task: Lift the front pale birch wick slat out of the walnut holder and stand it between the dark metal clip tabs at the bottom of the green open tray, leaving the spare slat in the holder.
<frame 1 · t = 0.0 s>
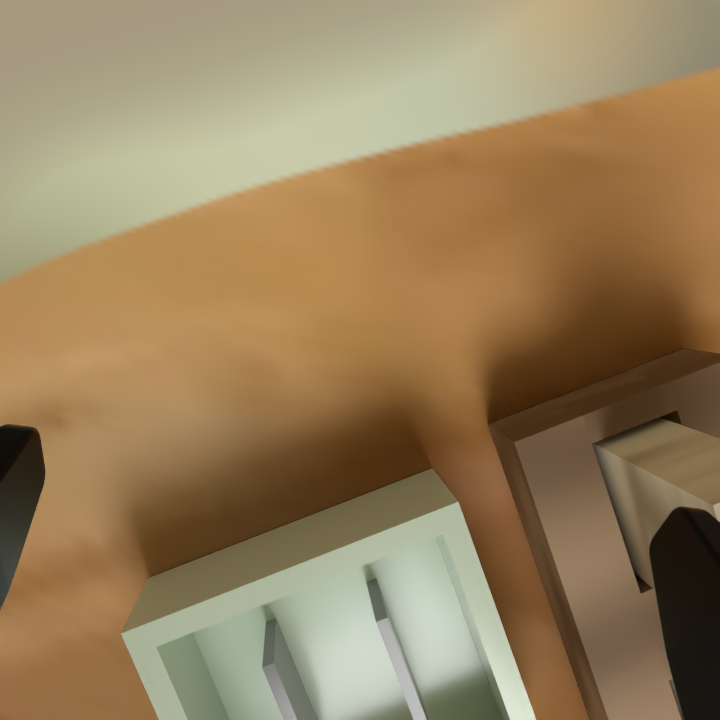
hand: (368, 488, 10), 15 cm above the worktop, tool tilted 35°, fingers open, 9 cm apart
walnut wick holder: (650, 583, 26), on the worktop
green open tray: (344, 654, 26), on the worktop
birch wick slat: (616, 478, 26), resting in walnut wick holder
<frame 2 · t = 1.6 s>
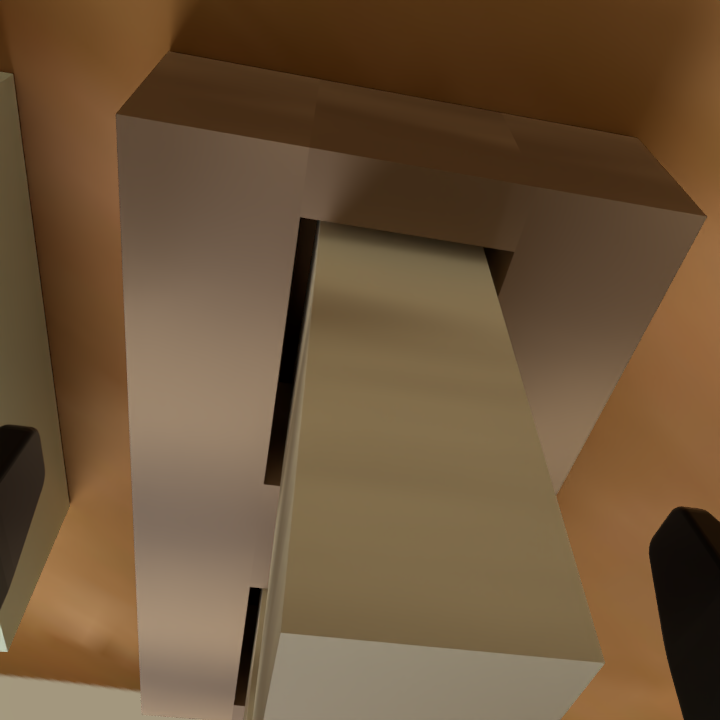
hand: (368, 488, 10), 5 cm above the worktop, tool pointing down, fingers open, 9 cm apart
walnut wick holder: (335, 443, 16), on the worktop
birch wick slat: (369, 286, 14), resting in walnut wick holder
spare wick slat: (310, 554, 19), resting in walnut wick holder
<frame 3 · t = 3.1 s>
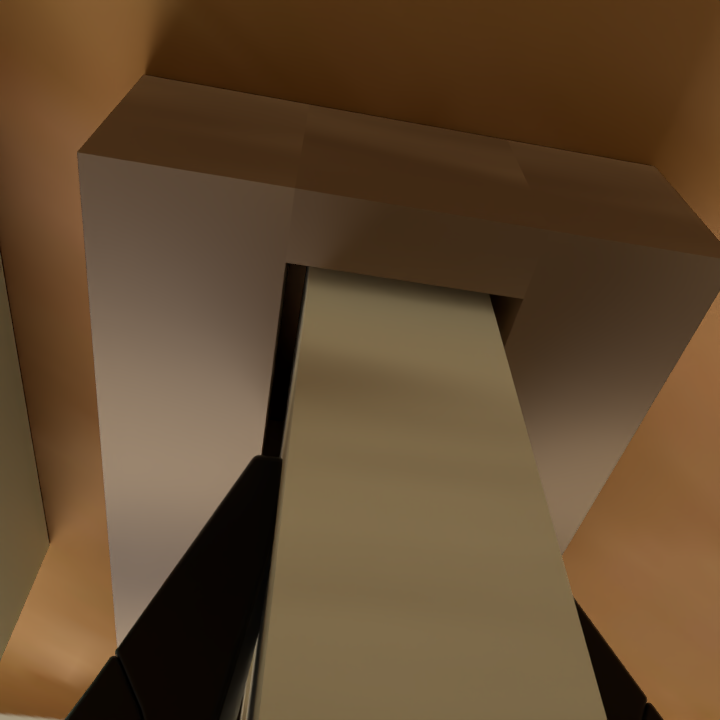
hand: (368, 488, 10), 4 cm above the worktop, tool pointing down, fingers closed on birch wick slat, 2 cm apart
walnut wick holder: (329, 482, 15), on the worktop
birch wick slat: (365, 322, 13), resting in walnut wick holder, touching gripper
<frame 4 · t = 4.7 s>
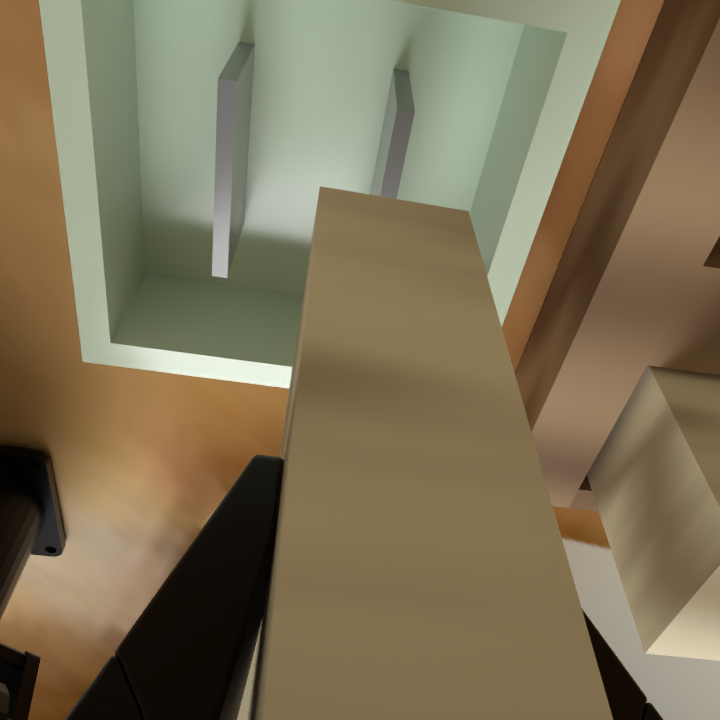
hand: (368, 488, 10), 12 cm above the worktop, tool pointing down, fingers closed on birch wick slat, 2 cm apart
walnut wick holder: (687, 269, 21), on the worktop
green open tray: (314, 146, 19), on the worktop
birch wick slat: (367, 321, 13), point 8 cm above the worktop, touching gripper
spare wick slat: (628, 376, 24), resting in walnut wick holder
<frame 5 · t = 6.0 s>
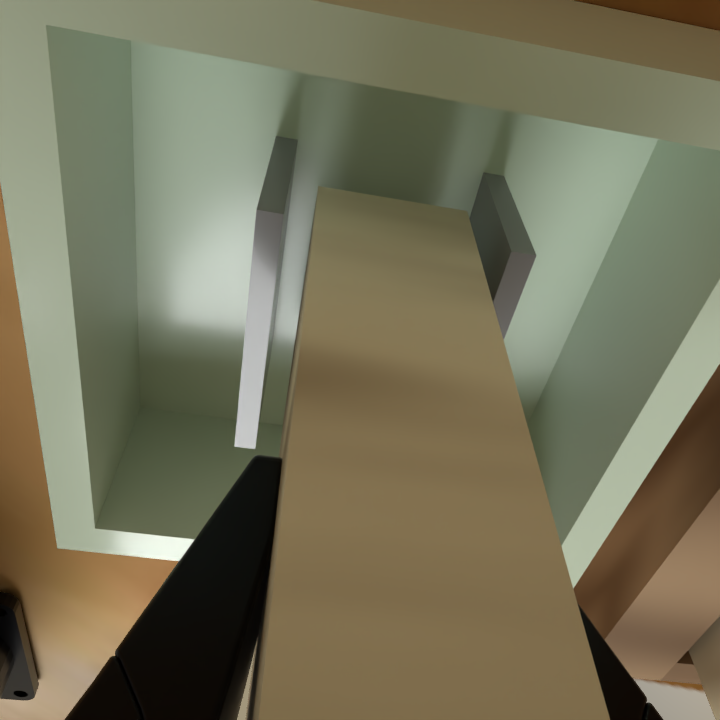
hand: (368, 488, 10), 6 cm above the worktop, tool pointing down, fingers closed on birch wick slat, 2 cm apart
green open tray: (367, 261, 14), on the worktop
birch wick slat: (365, 321, 13), point 2 cm above the worktop, touching gripper
when the fingers open (6 cm above the worktop, at t = 6.7 s): birch wick slat drops 1 cm, resting on green open tray.
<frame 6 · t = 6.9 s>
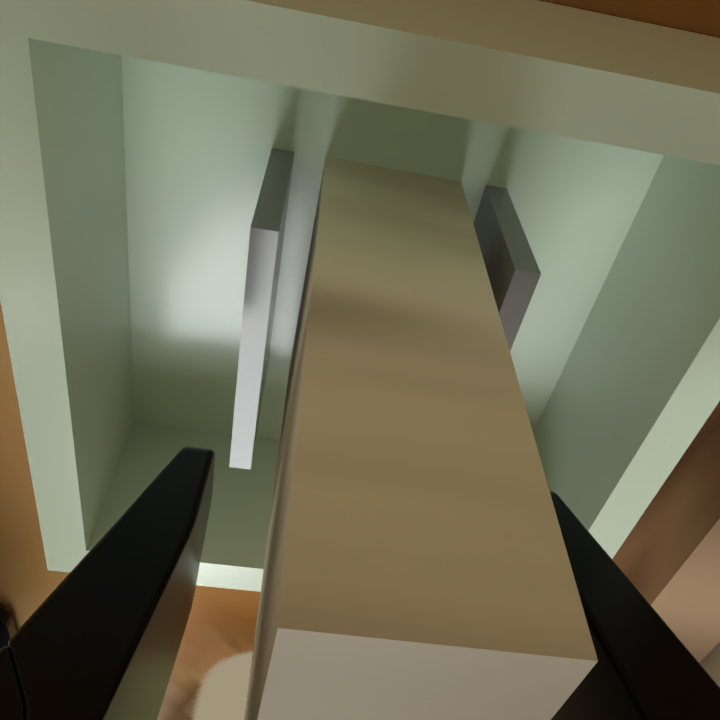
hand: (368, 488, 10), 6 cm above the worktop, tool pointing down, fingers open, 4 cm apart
green open tray: (365, 275, 14), on the worktop
birch wick slat: (366, 285, 14), resting on green open tray
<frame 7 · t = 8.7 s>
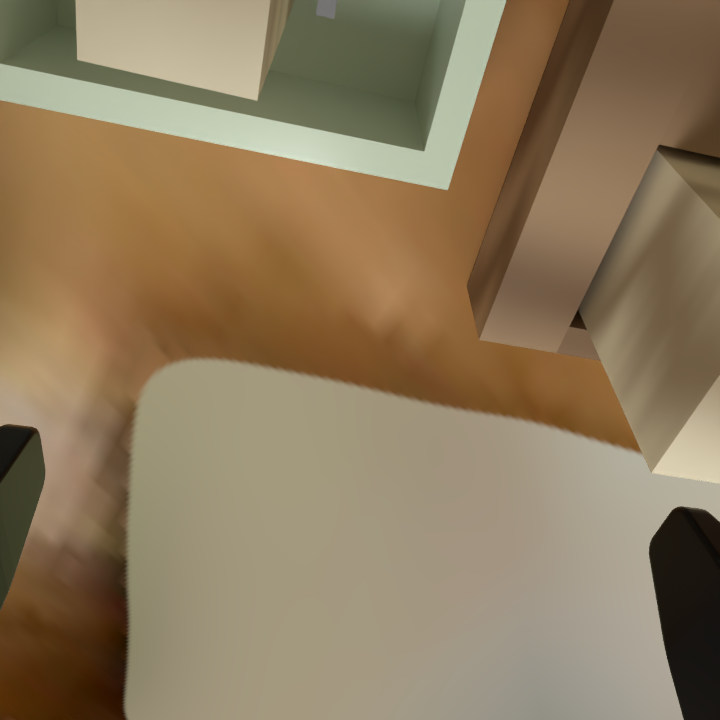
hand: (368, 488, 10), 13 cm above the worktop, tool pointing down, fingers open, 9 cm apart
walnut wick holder: (703, 53, 18), on the worktop
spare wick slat: (628, 205, 21), resting in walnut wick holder
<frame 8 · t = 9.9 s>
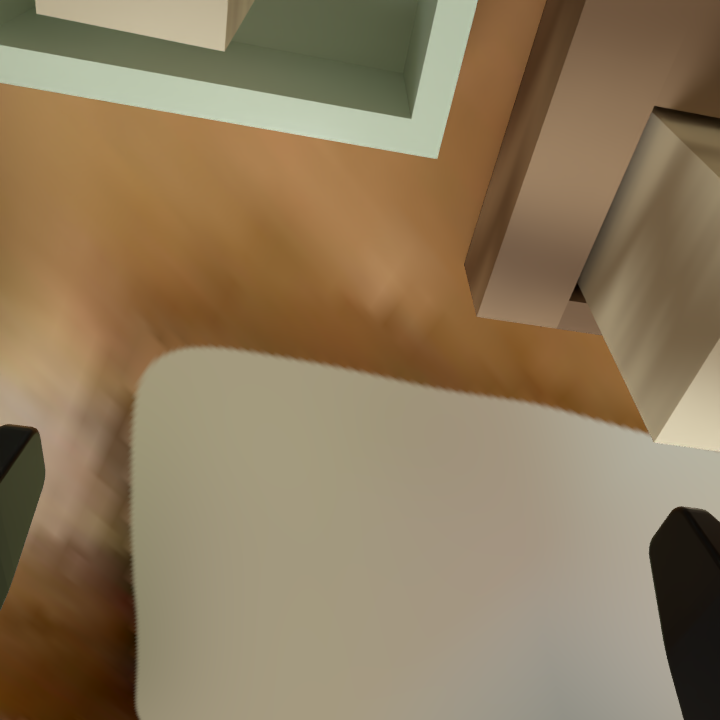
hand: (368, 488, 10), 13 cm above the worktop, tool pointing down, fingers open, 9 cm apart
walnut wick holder: (699, 13, 18), on the worktop
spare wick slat: (626, 175, 20), resting in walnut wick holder
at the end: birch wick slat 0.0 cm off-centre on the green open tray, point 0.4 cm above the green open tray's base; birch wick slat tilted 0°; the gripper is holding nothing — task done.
